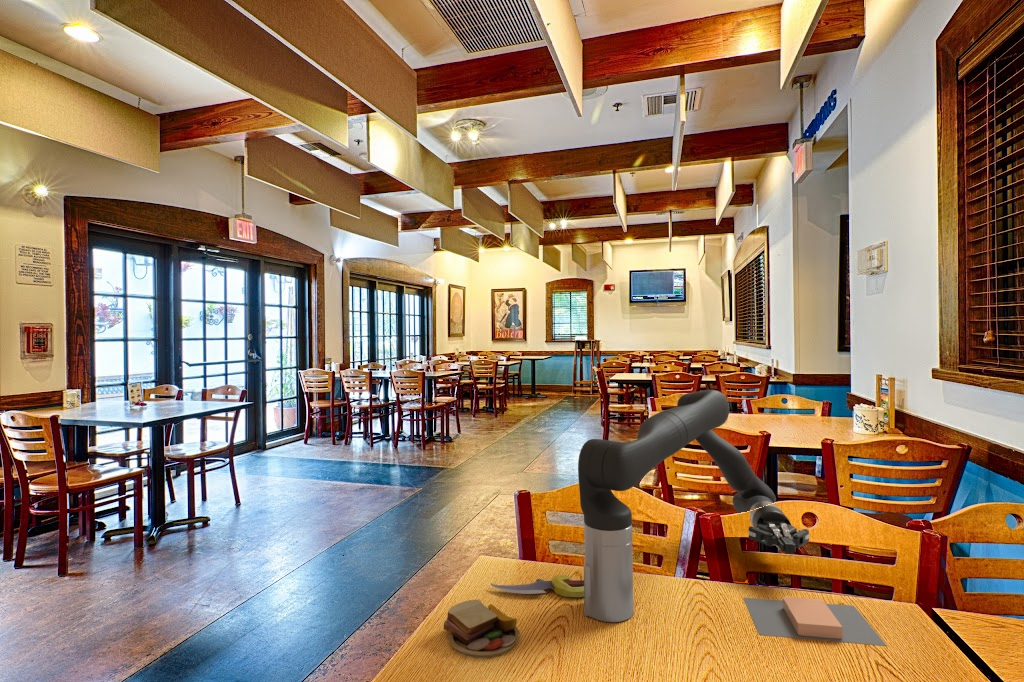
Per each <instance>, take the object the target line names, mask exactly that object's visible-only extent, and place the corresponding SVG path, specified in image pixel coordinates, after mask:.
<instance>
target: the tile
mask: <svg viewBox="0 0 1024 682" xmlns="http://www.w3.org/2000/svg"><path fill="white" fill-rule="evenodd" d="M781 598H782V599H781V600H782V602H783V609H784V610H785V612H786V614H787V616H788V617H789V619H790V621H791V623H792V625H793V626H794V628H795V630H796V632H797V633H798V635H801V636H813V637H824V638H836V639H841V638H842V639H843V628H842V626H841V624H840V623H839V621H838V620H837V619H836V617H835V616H834V615H833V613H832V612H831V610H830V609H829V608H828V606H827V605H826V604H827V603H826V602H825V601H824V600H823V598H821V599H820V598H810V597H809V598H807V597H806V598H805V597H794V596H782V597H781Z"/></svg>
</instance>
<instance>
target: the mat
mask: <svg viewBox="0 0 1024 682" xmlns="http://www.w3.org/2000/svg"><path fill="white" fill-rule="evenodd" d="M742 599H743V601H744V603H745V605H746V608H747V611H748V612H749V615H750V616H751V620H752V622H753V624H754V626H755V628H756V631H757V634H758V635H759V636H765V637H767V636H768V637H780V638H788V639H789V638H790V639H799V640H800V639H801V640H812V641H813V640H814V641H822V642H823V641H824V642H835V643H847V644H856V645H857V644H859V645H872V646H880V647H881V646H884V647H888V645H887V643H885V642H884V640H883V639H882V637H881V636H880V635H879V634H878V633H877V632H876V630H875V629H874V628H873V626H872V625H871V624H870V623H869V622H868V621H867V620H866V618H865V617H864V616H863V614H861V612H860V611H859V610H858V609H857V608H856V606H855V605H851V604H850V605H849V604H836V603H825V604H826V605H827V606H828V608H829V609H830V610H831V612H832V613H833V615H834V616H835V617H836V619H837V620H838V621H839V623H840V624H841V626H842V628H843V639H842V638H841V639H836V638H824V637H813V636H801V635H798V633H797V632H796V630H795V628H794V626H793V625H792V623H791V621H790V619H789V617H788V616H787V614H786V612H785V610H784V609H783V602H782V599H771V598H770V599H769V598H757V597H742Z"/></svg>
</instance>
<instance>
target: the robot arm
mask: <svg viewBox="0 0 1024 682" xmlns="http://www.w3.org/2000/svg"><path fill="white" fill-rule="evenodd" d="M729 415H730V404H729V400H728V399H727V397H726V395H725V394H723V392H721V391H718V390H715V389H705V390H699V391H693V392H688V393H684V394H681V396H680V397H678V399H677V404H676V407H672V408H668V409H664V410H662V411H660V412H657V413H655V414H653V415H651V416H650V417H648V418H647V419H645V420H644V421H643V422H642V423H641V424H640V425H639V428H638V431H637V439H635V440H632V441H628V442H627V441H626V442H625V441H624V442H623V441H615V440H608V439H601V438H600V439H599V438H591V439H588V440H587V441H586V442H585V443H584V444H583V445H582V446H581V449H580V452H579V455H578V461H577V475H578V477H577V478H578V486H579V488H578V489H579V504H580V508H581V511H582V514H583V528H584V529H583V530H584V531H583V535H584V536H583V538H584V539H583V540H584V564H583V580H584V597H583V602H584V603H583V604H584V607H583V608H584V613H583V614H584V617H590V618H592V619H595V620H597V621H599V622H600V621H601V622H605V623H621V622H624V621H626V620H629V619H631V618H632V617H633V615H634V612H635V611H634V610H635V609H634V602H635V601H634V600H635V599H634V571H633V570H634V568H633V566H634V565H633V564H634V561H633V557H634V555H633V515H632V514H633V513H632V510H631V509H630V507H629V506H628V505H627V504H625V503H624V502H622V501H621V500H620V499H618V497H616V495H615V494H614V493H613V492H612V491H614V492H625V491H628V490H630V489H632V488H633V487H634V486H636V485H637V484H638V483H639V482H641V480H642V479H643V478H644V477H646V475H647V474H648V473H650V472H651V471H652V470H653V469H654V468H655V467H656V466H658V465H660V464H661V463H662V462H664V461H665V460H666V459H668V458H669V457H671V456H673V455H674V454H676V453H678V452H679V451H681V450H682V449H684V448H685V447H686V446H687V445H688V444H690V443H692V442H693V441H696V442H697V443H698V444H699V445H700V446H701V448H703V450H704V451H705V452H706V453H707V454H708V456H709V457H711V459H712V460H713V461H714V463H715V464H716V465H717V467H718V469H719V471H720V473H721V474H722V475H723V477H724V479H725V481H726V482H727V484H728V485H729V487H730V488H731V489H732V490H734V491H737V492H736V493H735V494H734V495H733V497H732V505H733V507H734V509H735V511H736V512H737V513H738V514H739V513H741V512H747V511H750V510H753V511H751V512H750V520H751V521H750V520H749V521H750V523H751V526H748V539H750V540H753V541H755V542H758V543H760V544H762V545H765V546H768V547H773V546H776V548H779V550H780V551H781V552H783V553H784V554H785V555H794V553H796V549H797V548H798V549H799V548H801V547H802V546H804V545H806V544H808V543H809V542H810V530H809V529H808V528H803V529H799V530H798V529H797V527H795V526H794V525H792V523H791V521H790V520H789V518H788V517H787V515H785V513H784V512H783V511H782V510H781V508H780V507H778V506H777V505H776V504H775V505H773V504H772V503H774V502H776V503H777V497H776V495H775V493H774V491H773V490H772V488H770V486H769V485H768V484H766V483H765V482H764V481H763V480H761V479H760V478H759V476H757V474H755V472H754V470H753V468H752V467H751V465H750V464H749V462H748V461H747V459H746V456H745V455H744V454H743V453H742V452H741V451H740V450H739V449H738V448H736V447H735V446H734V445H732V443H729V442H728V441H727V440H725V439H724V438H722V437H721V436H719V435H718V434H717V433H716V432H715V431H713V430H714V429H716V428H719V427H722V426H723V425H724V424H725V423H726V422H727V420H728V418H729ZM768 504H772V505H768ZM766 505H768V506H766ZM763 506H764V507H763ZM759 507H762V508H759ZM756 508H759V509H756ZM754 509H756V510H754Z"/></svg>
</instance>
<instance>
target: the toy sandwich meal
mask: <svg viewBox="0 0 1024 682" xmlns="http://www.w3.org/2000/svg"><path fill="white" fill-rule="evenodd" d="M517 621H518V620H517V618H516V617H515V618H514V617H509V616H508V615H506V614H504V613H503V612H502V611H501V610H500V609H498V608H497V607H496V606H495V605H494V604H492V603H489V604H488V605H487V606H486V605H484V604H483V603H482V601H481V600H480V599H470V600H465V601H461V602H459V603H456V604H455V605H453V606H451V607H450V608H449V609H448V611H447V618H446V620H445V621H444V622H443V630H445V631H447V632H449V635H448V639H449V640H448V641H449V642H450V645H451V646H452V647H453V649H455V650H456V651H457V652H459V653H461V654H463V655H465V656H468V657H472V658H480V659H481V658H492V657H495V656H500V655H502V654H504V653H507V651H509V650H511V649H512V648H513V646H515V645H516V644H517V642H518V640H519V639H520V630H519V629H518V627H517V623H518V622H517Z"/></svg>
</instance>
